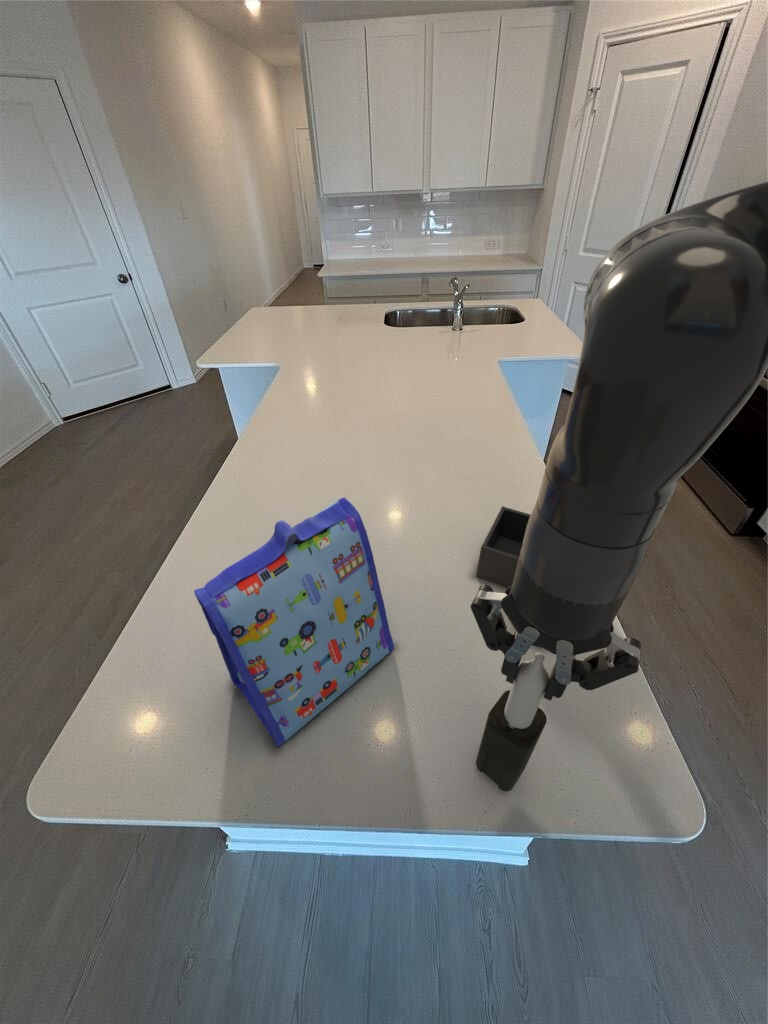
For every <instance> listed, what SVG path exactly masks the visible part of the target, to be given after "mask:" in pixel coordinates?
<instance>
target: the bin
mask: <svg viewBox="0 0 768 1024" xmlns="http://www.w3.org/2000/svg"><path fill="white" fill-rule="evenodd" d="M530 515H531V513H526V512H523V511H520V510H516V509H513V508H509V507H506V506H503V505H502V506H501V508H500V509H499V512H498V513H497V516H496V518H495V519H494V521H493V523H492V525H491V527H490V529H489V531H488V532H487V535H486V537H485V539H484V540H483V542H482V544H481V546H480V550H479V558H478V561H477V569H476V575H475V577H476V578H478V579H481V580H483V581H487V582H490V583H492V584H495V585H498V586H500V587H503V588H506V589H508V588H509V587H510V586H512V584H513V580H514V576H515V572H516V568H517V564H518V560H519V556H520V551H521V548H522V544H523V539H524V535H525V531H526V527H527V524H528V521H529V518H530Z"/></svg>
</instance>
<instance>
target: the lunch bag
mask: <svg viewBox="0 0 768 1024" xmlns="http://www.w3.org/2000/svg"><path fill="white" fill-rule="evenodd" d="M366 529H367V528H366V527H365V525H364V521H363V519H362V516H361V515H360V513H359V511H358V510H357V508H356V507H355V506H354V504H353V503H351V502H350V501H349V500H348V499H347V498H346V497H341V498H339V499H337V500H335V501H334V502H332V503H331V504H329V505H328V506H326V507H325V508H324V509H322V510H320V511H318V512H316V513H315V514H314V515H312V516H309V517H307V518H305V519H304V520H302V521H301V522H299V523H297V524H295V525H293V526H291V525H290V524H289V523H287V522H286V521H285V520H284V519H283V520H282V519H280V520H278V521H277V522H276V523H275V525H274V532H273V534H272V536H271V537H270V539H268V540H267V542H265V543H264V544H263V545H262V546H260V547H258V548H257V549H256V550H253V551H252V552H250V553H249V554H248V555H246V556H245V557H243V558H241V559H240V560H238V561H236V562H234V563H233V564H231V565H230V566H228V567H226V568H225V569H224V570H222V571H221V572H220V573H218V574H217V575H215V576H214V577H213V578H212V579H210V580H209V581H208V582H206V583H205V584H204V586H202V587H200V588H196V589H194V590H193V593H194V596H195V598H196V599H197V602H198V604H199V606H200V607H201V610H202V613H203V614H204V618H205V620H206V621H207V624H208V627H209V629H210V631H211V633H212V635H213V636H214V637H215V639H216V643H217V646H218V649H219V650H220V653H221V655H222V658H223V661H224V663H225V666H226V669H227V672H228V674H229V676H230V681H231V682H232V684H233V685H234V686H236V687H237V688H238V689H239V690H240V691H241V693H242V695H243V696H244V698H245V699H246V700H247V702H248V703H249V705H250V707H251V709H252V710H253V711H254V713H255V715H256V716H257V717H258V718H259V720H260V721H261V723H262V724H263V725H264V727H265V728H266V730H267V731H268V732H269V735H270V736H271V738H272V739H273V741H274V742H275V746H276V747H280V746H281V745H283V744H284V743H285V742H287V740H288V739H290V738H292V736H293V735H295V734H296V733H297V732H298V731H299V730H301V729H302V728H303V727H304V726H305V725H307V724H308V723H309V722H310V721H311V720H312V719H313V718H315V717H316V716H317V715H318V714H319V713H321V712H322V711H323V710H324V709H325V708H327V707H328V706H329V705H330V704H331V703H333V701H335V700H336V699H337V698H338V697H339V696H341V695H342V694H343V693H344V692H345V691H347V690H348V689H350V687H352V685H353V684H355V683H356V682H358V680H359V679H361V678H362V677H363V676H364V675H366V674H367V672H368V671H369V670H371V669H372V668H373V667H374V666H376V665H377V664H378V663H379V662H381V661H382V660H383V659H384V658H385V657H386V656H387V655H389V653H391V652H392V651H394V649H395V645H394V644H395V643H394V640H393V637H392V634H391V631H390V626H389V621H388V616H387V612H386V607H385V603H384V602H385V601H384V598H383V594H382V590H381V587H380V581H379V576H378V572H377V567H376V563H375V559H374V558H375V557H374V555H373V554H374V553H373V551H372V547H371V542H370V540H369V536H368V532H367V530H366Z"/></svg>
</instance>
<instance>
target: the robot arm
mask: <svg viewBox="0 0 768 1024" xmlns="http://www.w3.org/2000/svg"><path fill="white" fill-rule="evenodd" d="M582 309H583V311H582V312H583V316H582V317H583V339H582V345H581V350H580V354H579V355H580V356H579V361H578V367H577V371H576V376H575V381H574V385H573V389H572V393H571V397H570V402H569V406H568V409H567V414H566V418H565V423H564V425H562V426H561V428H560V429H559V431H558V432H557V434H556V436H555V438H554V440H553V442H552V446H551V448H550V450H549V454H548V457H547V460H546V465H545V468H544V472H543V476H542V480H541V484H540V487H539V492H538V496H537V498H536V502H535V504H534V507H533V508H532V511H531V513H530V518H529V521H528V524H527V527H526V531H525V535H524V539H523V544H522V548H521V551H520V556H519V560H518V564H517V568H516V572H515V576H514V580H513V584H512V586H510V587H509V588H506V589H505V591H504V592H496V591H494V589H493V588H492V587H491V586H490V585H488V584H485V583H483V584H480V586H479V587H478V590H477V591H476V593H475V595H474V598H473V600H472V602H471V604H470V611H471V612H472V614H473V617H474V619H475V622H476V624H477V626H478V629H479V632H480V633H481V636H482V638H483V641H484V643H485V645H486V647H487V648H488V649H489V650H491V651H493V652H498V651H500V652H502V654H503V655H504V658H503V661H502V664H501V669H500V672H501V674H502V675H504V676H506V679H505V682H507V683H509V684H510V685H511V684H513V682H514V679H515V676H516V673H517V669H518V667H519V665H520V664H521V660H522V657H523V656H525V655H526V654H527V652H528V651H529V650H530V648H531V647H532V646H533V647H536V648H541V649H544V650H546V651H547V652H549V653H551V654H552V655H555V662H554V665H553V667H552V669H551V671H550V673H549V682H548V685H547V687H546V690H545V692H544V695H543V697H542V699H545V700H548V701H550V702H552V700H553V698H556V699H560V698H562V696H563V695H564V693H565V690H566V689H567V687H568V685H570V684H571V683H577V684H578V686H579V687H580V688H582V689H583V690H585V691H593V690H596V689H599V688H602V687H604V686H606V685H609V684H612V683H614V682H617V681H619V680H621V679H623V678H626V677H628V676H629V677H630V676H631V675H633V674H636V673H638V672H639V667H640V661H641V653H642V652H641V651H642V643H641V641H640V640H638V639H637V638H635V637H626V638H622V637H620V636H619V635H617V634H616V633H615V632H614V630H615V629H614V624H613V623H614V621H615V619H616V617H617V615H618V613H619V611H620V609H621V607H622V606H623V603H624V602H625V599H626V597H627V595H628V594H629V591H630V590H631V587H632V586H633V584H634V582H635V580H636V578H637V576H638V574H639V572H640V570H641V569H642V566H643V564H644V562H645V561H646V557H647V555H648V551H649V549H650V548H649V547H650V544H651V540H652V537H653V535H654V532H655V530H656V529H657V527H658V524H659V523H660V520H661V519H662V517H663V514H664V512H665V510H666V508H667V507H668V505H669V502H670V500H671V498H672V497H673V495H674V493H675V490H676V488H677V487H678V484H679V480H680V478H681V477H682V476H683V475H684V474H685V473H686V472H687V471H688V470H689V469H690V468H691V467H693V465H694V464H695V463H696V462H697V461H699V460H700V458H701V457H702V456H703V455H704V454H705V452H707V450H708V449H709V448H710V446H712V445H713V443H714V442H715V441H716V440H717V439H718V437H719V436H720V435H721V434H722V433H723V431H724V430H725V429H726V428H727V427H728V426H729V424H731V422H732V421H733V420H734V419H735V417H736V416H737V415H738V414H739V412H740V411H741V410H742V409H743V407H744V406H745V405H746V403H748V401H749V399H750V398H751V396H752V395H753V394H754V392H755V391H756V389H757V387H758V386H759V385H760V382H761V381H762V379H763V378H764V375H765V374H766V372H767V370H768V181H765V182H760V183H757V184H754V185H751V186H747V187H744V188H743V187H742V188H740V189H737V190H734V191H730V192H727V193H723V194H721V195H717V196H715V197H714V196H713V197H711V198H708V199H705V200H702V201H699V202H696V203H694V204H691V205H688V206H685V207H682V208H680V209H677V210H674V211H671V212H669V213H667V214H664V215H661V216H659V217H657V218H655V219H653V220H651V221H649V222H647V223H645V224H643V225H641V226H639V227H638V228H636V229H634V230H633V231H631V232H629V233H628V234H627V235H625V236H624V237H623V238H621V239H620V240H619V241H618V242H616V243H615V245H614V246H612V247H611V248H610V250H608V252H607V253H606V254H605V255H604V256H603V257H602V258H601V260H600V262H599V263H598V265H597V266H596V267H595V269H594V271H593V273H592V274H591V277H590V279H589V281H588V283H587V286H586V290H585V294H584V298H583V307H582ZM501 610H502V611H503V612H504V614H505V616H506V617H507V619H508V620H509V622H510V623H511V625H512V626H513V627H514V629H515V630H514V631H513V632H512V633H511V632H509V631H508V628H507V627H508V626H507V624H506V621H505V619H504V616H503V613H502V611H501ZM594 651H597V652H595V653H593V654H590V655H589V656H587V657H585V658H583V660H580V659H577V656H578V655H581V654H586V653H591V652H594Z"/></svg>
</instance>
